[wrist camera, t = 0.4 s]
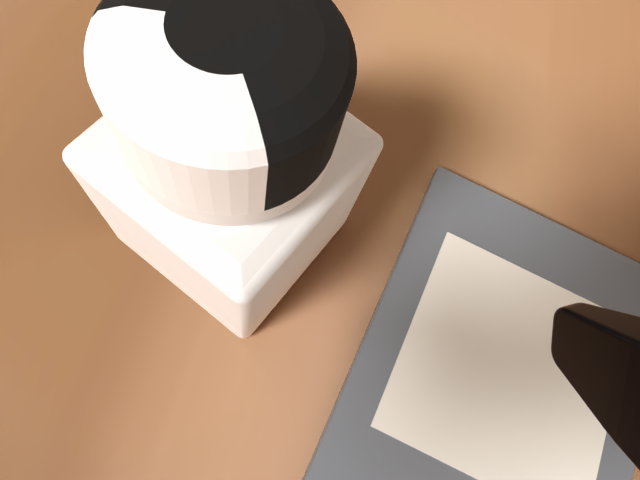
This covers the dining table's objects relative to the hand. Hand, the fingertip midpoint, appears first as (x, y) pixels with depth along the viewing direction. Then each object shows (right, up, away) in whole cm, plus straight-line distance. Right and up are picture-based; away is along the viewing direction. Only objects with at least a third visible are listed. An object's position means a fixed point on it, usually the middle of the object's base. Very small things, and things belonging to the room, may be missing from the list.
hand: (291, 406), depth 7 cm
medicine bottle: (-3, +3, +15) cm, 15 cm away
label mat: (+8, -4, +13) cm, 16 cm away
